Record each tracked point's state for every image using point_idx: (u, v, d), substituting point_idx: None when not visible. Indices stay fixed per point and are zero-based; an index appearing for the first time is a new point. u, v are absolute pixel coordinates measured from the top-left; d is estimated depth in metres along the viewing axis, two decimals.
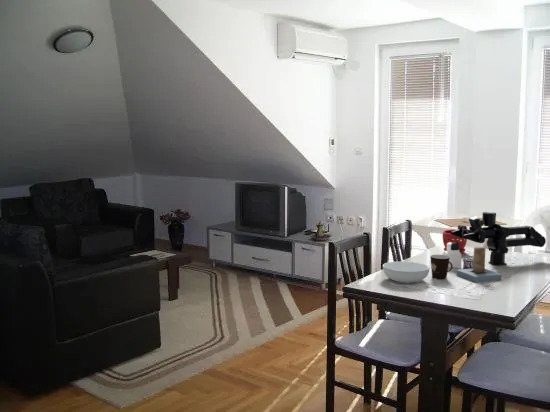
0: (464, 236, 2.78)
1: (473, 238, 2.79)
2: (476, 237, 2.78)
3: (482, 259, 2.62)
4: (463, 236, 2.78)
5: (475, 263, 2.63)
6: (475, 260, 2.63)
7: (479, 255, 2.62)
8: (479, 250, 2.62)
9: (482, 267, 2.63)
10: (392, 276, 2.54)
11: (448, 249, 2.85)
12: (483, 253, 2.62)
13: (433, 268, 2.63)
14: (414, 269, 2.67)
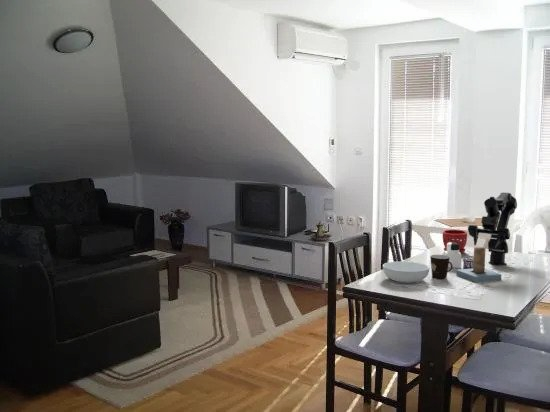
0: (496, 245, 2.68)
1: (500, 239, 2.70)
2: (503, 237, 2.70)
3: (482, 259, 2.62)
4: (495, 246, 2.68)
5: (475, 263, 2.63)
6: (475, 260, 2.63)
7: (479, 255, 2.62)
8: (479, 250, 2.62)
9: (482, 267, 2.63)
10: (392, 276, 2.54)
11: (448, 249, 2.85)
12: (483, 253, 2.62)
13: (433, 268, 2.63)
14: (414, 269, 2.67)
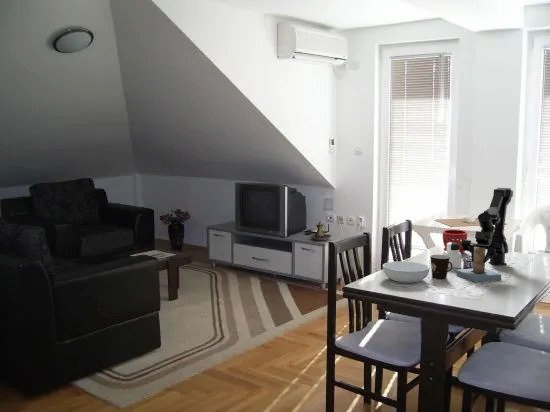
0: (485, 261, 2.62)
1: (490, 254, 2.64)
2: (492, 252, 2.64)
3: (482, 259, 2.62)
4: (485, 261, 2.62)
5: (475, 263, 2.63)
6: (475, 260, 2.63)
7: (479, 255, 2.62)
8: (479, 250, 2.62)
9: (482, 267, 2.63)
10: (392, 276, 2.54)
11: (448, 249, 2.85)
12: (483, 253, 2.62)
13: (433, 268, 2.63)
14: (414, 269, 2.67)
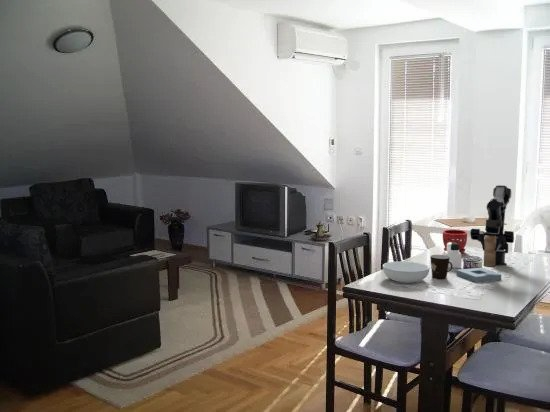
0: (497, 249, 2.60)
1: (500, 242, 2.62)
2: (503, 240, 2.62)
3: (494, 247, 2.59)
4: (496, 250, 2.59)
5: (486, 252, 2.60)
6: (486, 249, 2.60)
7: (491, 244, 2.59)
8: (491, 238, 2.58)
9: (493, 255, 2.60)
10: (392, 276, 2.54)
11: (448, 249, 2.85)
12: (494, 241, 2.59)
13: (433, 268, 2.63)
14: (414, 269, 2.67)
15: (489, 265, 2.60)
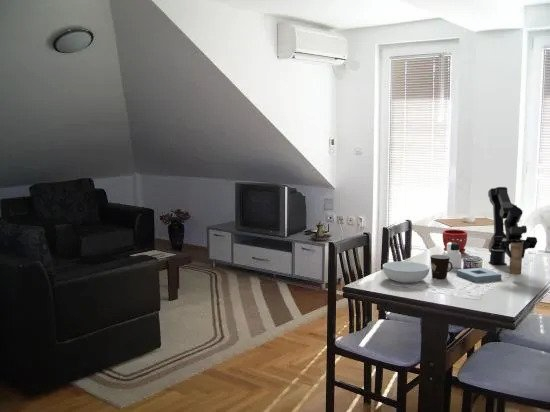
0: (523, 256, 2.58)
1: None
2: (526, 246, 2.61)
3: (521, 254, 2.56)
4: (523, 257, 2.57)
5: (514, 259, 2.57)
6: (514, 256, 2.56)
7: (519, 251, 2.56)
8: (519, 245, 2.55)
9: (521, 262, 2.57)
10: (392, 276, 2.54)
11: (448, 249, 2.85)
12: (522, 248, 2.56)
13: (433, 268, 2.63)
14: (414, 269, 2.67)
15: (517, 272, 2.57)
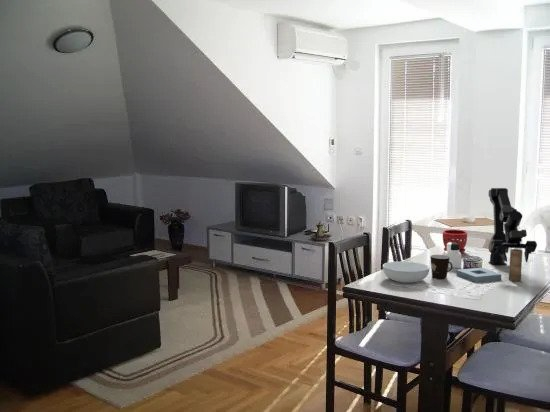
0: (527, 260, 2.57)
1: None
2: (529, 250, 2.61)
3: (521, 261, 2.57)
4: None
5: (514, 266, 2.57)
6: (514, 263, 2.57)
7: (519, 258, 2.56)
8: (519, 253, 2.56)
9: (520, 270, 2.58)
10: (392, 276, 2.54)
11: (448, 249, 2.85)
12: (521, 255, 2.57)
13: (433, 268, 2.63)
14: (414, 269, 2.67)
15: (517, 279, 2.57)
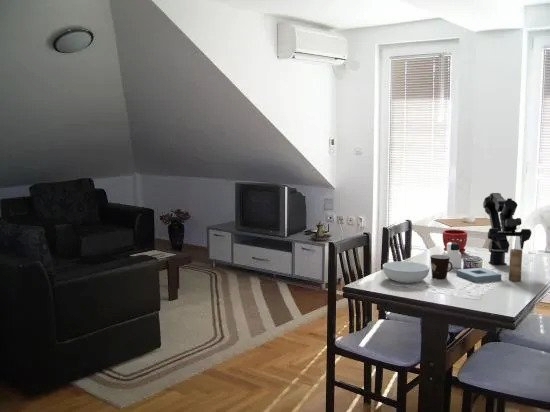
0: (522, 247, 2.66)
1: None
2: (525, 238, 2.69)
3: (521, 261, 2.57)
4: (522, 248, 2.66)
5: (514, 266, 2.57)
6: (514, 263, 2.57)
7: (519, 258, 2.56)
8: (519, 253, 2.56)
9: (520, 270, 2.58)
10: (392, 276, 2.54)
11: (448, 249, 2.85)
12: (521, 255, 2.57)
13: (433, 268, 2.63)
14: (414, 269, 2.67)
15: (517, 279, 2.57)
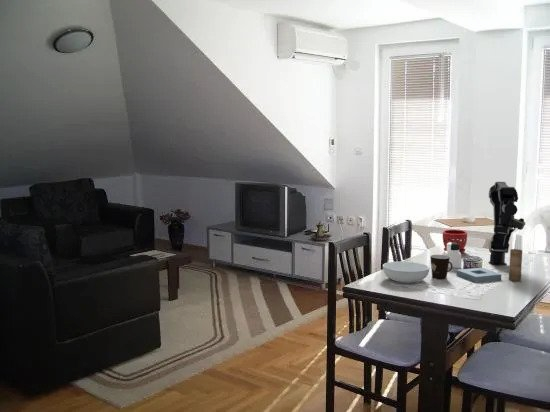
0: None
1: None
2: None
3: (521, 261, 2.57)
4: None
5: (514, 266, 2.57)
6: (514, 263, 2.57)
7: (519, 258, 2.56)
8: (519, 253, 2.56)
9: (520, 270, 2.58)
10: (392, 276, 2.54)
11: (448, 249, 2.85)
12: (521, 255, 2.57)
13: (433, 268, 2.63)
14: (414, 269, 2.67)
15: (517, 279, 2.57)
